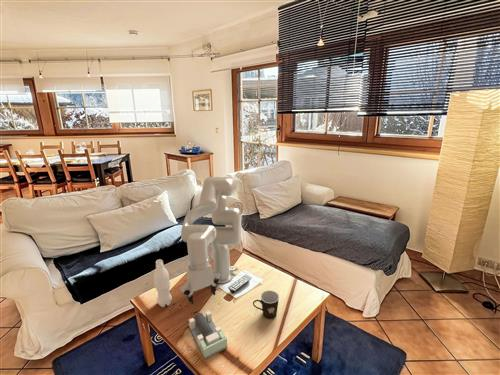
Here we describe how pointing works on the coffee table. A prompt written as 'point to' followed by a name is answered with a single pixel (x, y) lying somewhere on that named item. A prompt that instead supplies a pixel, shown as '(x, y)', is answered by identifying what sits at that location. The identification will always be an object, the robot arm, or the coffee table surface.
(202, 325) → the grey rounded bar
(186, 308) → the coffee table surface
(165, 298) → the water bottle
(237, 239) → the robot arm
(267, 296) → the coffee mug
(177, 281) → the coffee table surface
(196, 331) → the board
